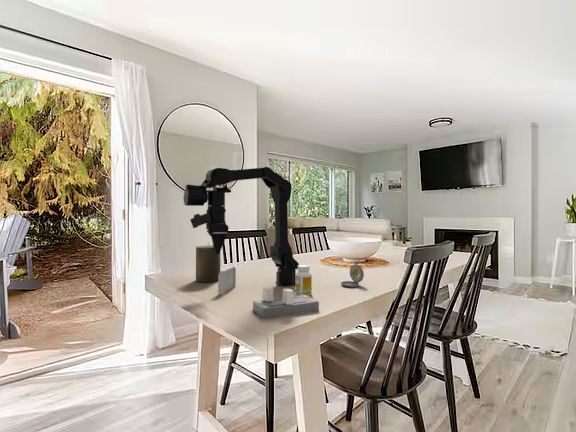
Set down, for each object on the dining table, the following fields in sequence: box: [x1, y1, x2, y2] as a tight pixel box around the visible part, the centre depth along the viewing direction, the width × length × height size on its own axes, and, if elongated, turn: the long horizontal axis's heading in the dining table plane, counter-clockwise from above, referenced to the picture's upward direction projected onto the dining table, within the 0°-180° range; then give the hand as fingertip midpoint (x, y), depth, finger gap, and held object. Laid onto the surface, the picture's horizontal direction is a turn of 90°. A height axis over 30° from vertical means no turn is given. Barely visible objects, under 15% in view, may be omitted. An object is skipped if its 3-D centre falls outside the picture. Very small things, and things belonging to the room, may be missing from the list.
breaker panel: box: [252, 295, 320, 319], centre depth 93 cm, size 17×8×3 cm, turn 115°
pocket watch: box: [340, 258, 365, 288], centre depth 123 cm, size 8×8×10 cm
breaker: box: [262, 285, 274, 302], centre depth 93 cm, size 2×3×4 cm
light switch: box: [217, 265, 237, 296], centre depth 115 cm, size 2×12×8 cm, turn 168°
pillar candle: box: [195, 243, 221, 284], centre depth 131 cm, size 10×10×15 cm
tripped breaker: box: [282, 288, 294, 305], centre depth 90 cm, size 2×3×4 cm
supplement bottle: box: [295, 264, 313, 297], centre depth 110 cm, size 5×5×10 cm
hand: (216, 252), depth 110 cm, fingers open, 9 cm apart
